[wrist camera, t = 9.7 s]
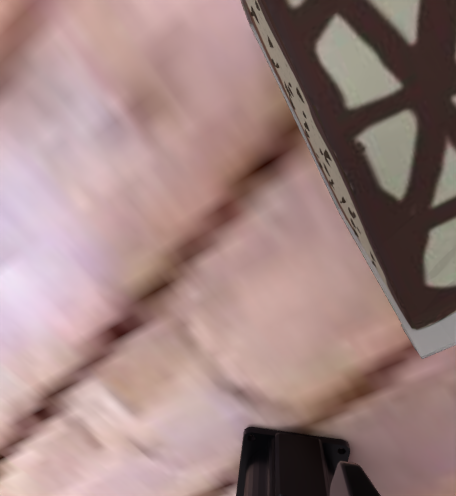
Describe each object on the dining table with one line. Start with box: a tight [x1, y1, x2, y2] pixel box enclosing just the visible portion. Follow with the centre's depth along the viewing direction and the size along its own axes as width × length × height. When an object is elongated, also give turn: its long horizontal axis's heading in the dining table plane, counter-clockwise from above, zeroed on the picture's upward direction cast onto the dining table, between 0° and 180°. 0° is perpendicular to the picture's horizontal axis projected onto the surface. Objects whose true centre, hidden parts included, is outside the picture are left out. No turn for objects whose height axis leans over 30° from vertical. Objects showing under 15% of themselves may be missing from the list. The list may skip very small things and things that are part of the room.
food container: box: [241, 0, 456, 359], centre depth 12 cm, size 12×6×10 cm, turn 29°
